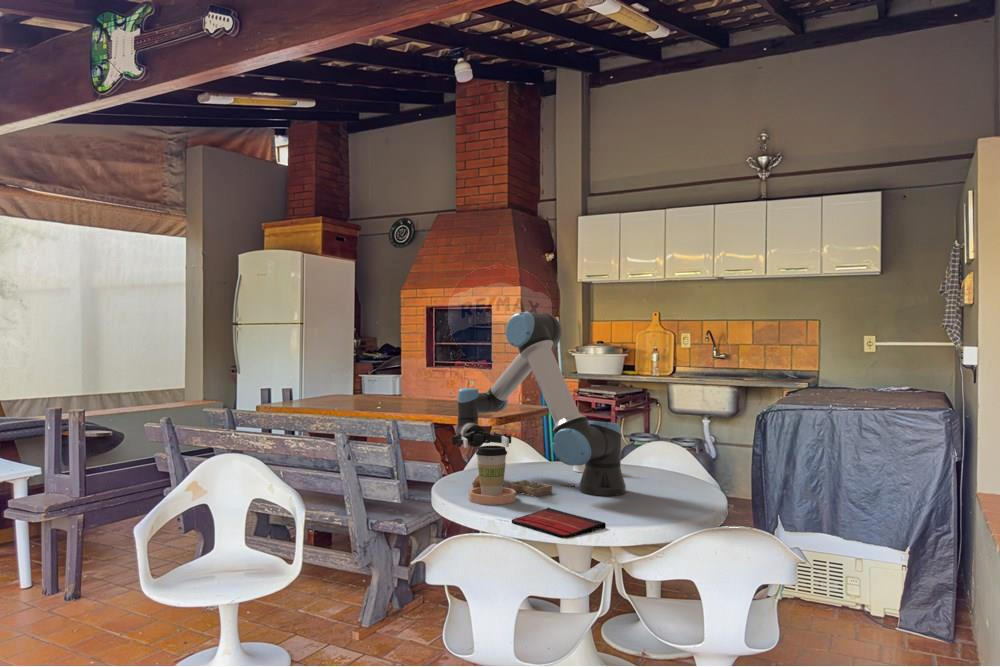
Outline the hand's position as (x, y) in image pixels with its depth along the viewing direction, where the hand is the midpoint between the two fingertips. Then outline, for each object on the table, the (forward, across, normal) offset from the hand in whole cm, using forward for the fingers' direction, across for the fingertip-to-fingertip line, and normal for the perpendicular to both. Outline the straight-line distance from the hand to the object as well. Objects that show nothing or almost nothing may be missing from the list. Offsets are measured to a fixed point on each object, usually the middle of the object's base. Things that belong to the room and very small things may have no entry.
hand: (487, 443), depth 222 cm
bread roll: (-6, -2, -17) cm, 18 cm away
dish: (+7, 0, -16) cm, 18 cm away
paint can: (-34, -46, -17) cm, 59 cm away
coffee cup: (+7, 0, -16) cm, 17 cm away
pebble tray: (-1, -15, -16) cm, 22 cm away
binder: (+40, -10, -17) cm, 45 cm away
